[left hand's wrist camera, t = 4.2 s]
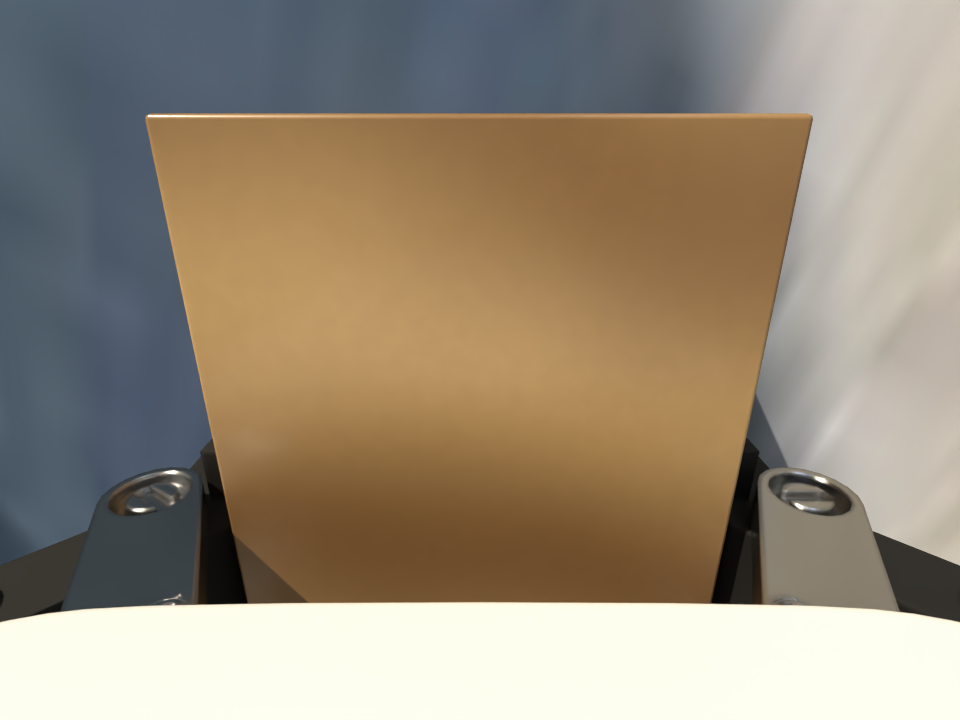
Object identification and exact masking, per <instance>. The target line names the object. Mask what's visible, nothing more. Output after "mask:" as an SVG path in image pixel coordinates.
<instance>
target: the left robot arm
mask: <svg viewBox="0 0 960 720" xmlns="http://www.w3.org/2000/svg"><path fill="white" fill-rule="evenodd" d="M200 453H201V457H200V458H199V460H198V461H197V462H196V463H195V464H194V465H193V466H192V467H191V468H190V469H187V468H175V467H170V468H162V469H155V470H152V471H148V472H144V473H140V474H138V475H135V476H133V477H130V478H128V479H126V480H124V481H122V482H120V483H119V484H117V485H115V486H113V487H112V488H111V489H109V490H108V491H107V492H106V493H105V494H104V495H103V496H102V497H101V498H100V500H99V502H98V503H97V505H96V508H95V511H94V514H93V516H92V519H91V522H90V525H89V528H88V531H86V532H84V533H81V534H79V535H76V536H74V537H71V538H69V539H66V540H64V541H61V542H59V543H56V544H54V545H51V546H48V547H46V548H43V549H41V550H38V551H36V552H33V553H31V554H28V555H26V556H23V557H21V558H18V559H16V560H13V561H11V562H8V563H6V564H3V565H1V566H0V720H960V566H959V565H957V564H954V563H952V562H949V561H947V560H944V559H942V558H939V557H937V556H934V555H931V554H929V553H926V552H924V551H921V550H919V549H916V548H914V547H911V546H909V545H906V544H904V543H901V542H899V541H896V540H894V539H891V538H889V537H886V536H884V535H881V534H879V533H876V532H873V531H872V528H871V525H870V522H869V519H868V516H867V514H866V511H865V508H864V505H863V503H862V502H861V500H860V498H859V497H858V496H857V495H856V494H855V493H854V492H853V491H852V490H851V489H849V488H848V487H847V486H845V485H843V484H841V483H840V482H838V481H836V480H834V479H832V478H830V477H827V476H825V475H822V474H820V473H816V472H812V471H808V470H805V469H798V468H790V467H785V468H773V469H769V468H768V467H767V466H766V464H765V463H764V462H763V461H762V460H761V459H760V458H759V457H758V455H759V451H758V450H757V449H756V448H755V446H754V445H753V444H752V443H751V442H750V441H749V440H748V439H747V438H746V441H745V445H744V450H743V455H742V460H741V464H740V469H739V474H738V479H737V483H736V488H735V493H734V498H733V503H732V507H731V512H730V517H729V522H728V526H727V531H726V536H725V541H724V546H723V550H722V555H721V560H720V565H719V569H718V574H717V579H716V584H715V588H714V593H713V598H712V603H711V604H689V603H530V602H430V603H271V604H247V599H246V595H245V590H244V585H243V580H242V576H241V571H240V566H239V561H238V557H237V552H236V547H235V542H234V538H233V533H232V528H231V523H230V519H229V514H228V509H227V504H226V500H225V495H224V490H223V485H222V481H221V476H220V471H219V466H218V462H217V457H216V452H215V447H214V443H213V438H212V439H211V441H210V442H209V443H208V444H207V445H206V446H205V447H204V448H203V449H202V450H201V451H200Z"/></svg>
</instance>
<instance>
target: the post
mask: <svg viewBox="0 0 960 720" xmlns="http://www.w3.org/2000/svg"><path fill="white" fill-rule="evenodd" d="M812 121H813V118H812V116H811V115H809V114H149V115H147V116H146V125H147V129H148V134H149V139H150V144H151V148H152V153H153V158H154V163H155V167H156V172H157V177H158V182H159V186H160V191H161V196H162V201H163V205H164V210H165V215H166V220H167V224H168V229H169V234H170V239H171V243H172V248H173V253H174V258H175V262H176V267H177V272H178V276H179V281H180V286H181V291H182V295H183V300H184V305H185V310H186V314H187V319H188V324H189V329H190V333H191V338H192V343H193V348H194V352H195V357H196V362H197V367H198V371H199V376H200V381H201V386H202V390H203V395H204V400H205V405H206V409H207V414H208V419H209V424H210V428H211V433H212V438H213V443H214V447H215V452H216V457H217V462H218V466H219V471H220V476H221V481H222V485H223V490H224V495H225V500H226V504H227V509H228V514H229V519H230V523H231V528H232V533H233V538H234V542H235V547H236V552H237V557H238V561H239V566H240V571H241V576H242V580H243V585H244V590H245V595H246V599H247V604H271V603H430V602H530V603H689V604H711V603H712V598H713V593H714V588H715V584H716V579H717V574H718V569H719V565H720V560H721V555H722V550H723V546H724V541H725V536H726V531H727V526H728V522H729V517H730V512H731V507H732V503H733V498H734V493H735V488H736V483H737V479H738V474H739V469H740V464H741V460H742V455H743V450H744V445H745V441H746V436H747V431H748V426H749V421H750V417H751V412H752V407H753V402H754V398H755V393H756V388H757V383H758V378H759V374H760V369H761V364H762V359H763V355H764V350H765V345H766V340H767V336H768V331H769V326H770V321H771V316H772V312H773V307H774V302H775V297H776V293H777V288H778V283H779V278H780V273H781V269H782V264H783V259H784V254H785V250H786V245H787V240H788V235H789V230H790V226H791V221H792V216H793V211H794V207H795V202H796V197H797V192H798V188H799V183H800V178H801V173H802V168H803V164H804V159H805V154H806V149H807V145H808V140H809V135H810V130H811V125H812Z"/></svg>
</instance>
